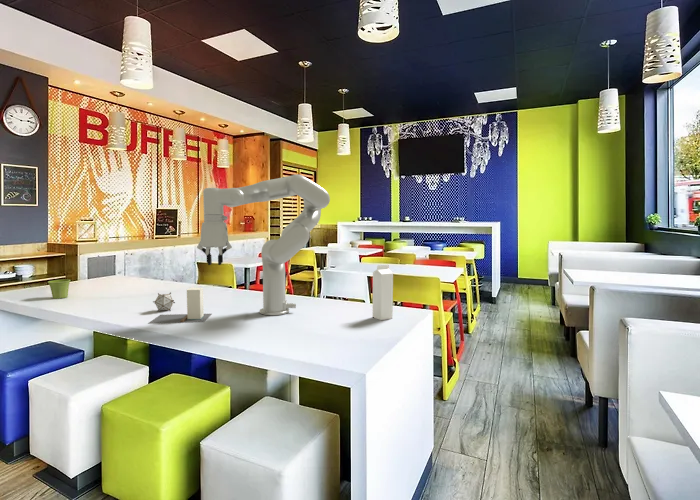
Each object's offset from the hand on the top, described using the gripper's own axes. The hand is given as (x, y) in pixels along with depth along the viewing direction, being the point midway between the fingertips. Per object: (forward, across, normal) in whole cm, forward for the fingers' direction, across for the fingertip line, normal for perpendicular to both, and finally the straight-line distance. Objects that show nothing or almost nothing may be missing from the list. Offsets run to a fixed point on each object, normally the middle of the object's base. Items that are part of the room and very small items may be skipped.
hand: (214, 264), depth 160 cm
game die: (+22, +25, -15) cm, 37 cm away
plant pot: (+22, +87, -50) cm, 103 cm away
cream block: (+22, +8, 0) cm, 23 cm away
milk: (+22, -68, +6) cm, 72 cm away
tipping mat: (+22, +14, 0) cm, 26 cm away
